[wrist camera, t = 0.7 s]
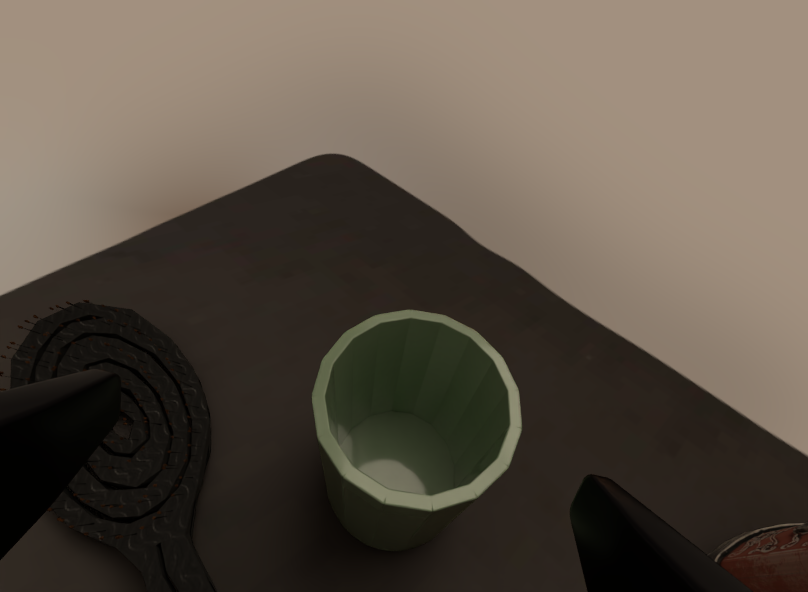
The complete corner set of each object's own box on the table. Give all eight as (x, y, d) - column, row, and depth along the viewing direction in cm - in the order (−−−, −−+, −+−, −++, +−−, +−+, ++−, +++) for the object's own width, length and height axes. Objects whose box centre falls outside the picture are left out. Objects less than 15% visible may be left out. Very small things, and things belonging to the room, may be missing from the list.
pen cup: (479, 526, 20) (560, 472, 12) (339, 572, 18) (332, 543, 10) (434, 397, 24) (474, 298, 17) (317, 424, 22) (301, 326, 15)
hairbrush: (130, 1068, 9) (-47, 336, 19) (178, 955, 12) (2, 369, 22) (395, 733, 13) (135, 268, 23) (383, 707, 16) (157, 304, 26)
